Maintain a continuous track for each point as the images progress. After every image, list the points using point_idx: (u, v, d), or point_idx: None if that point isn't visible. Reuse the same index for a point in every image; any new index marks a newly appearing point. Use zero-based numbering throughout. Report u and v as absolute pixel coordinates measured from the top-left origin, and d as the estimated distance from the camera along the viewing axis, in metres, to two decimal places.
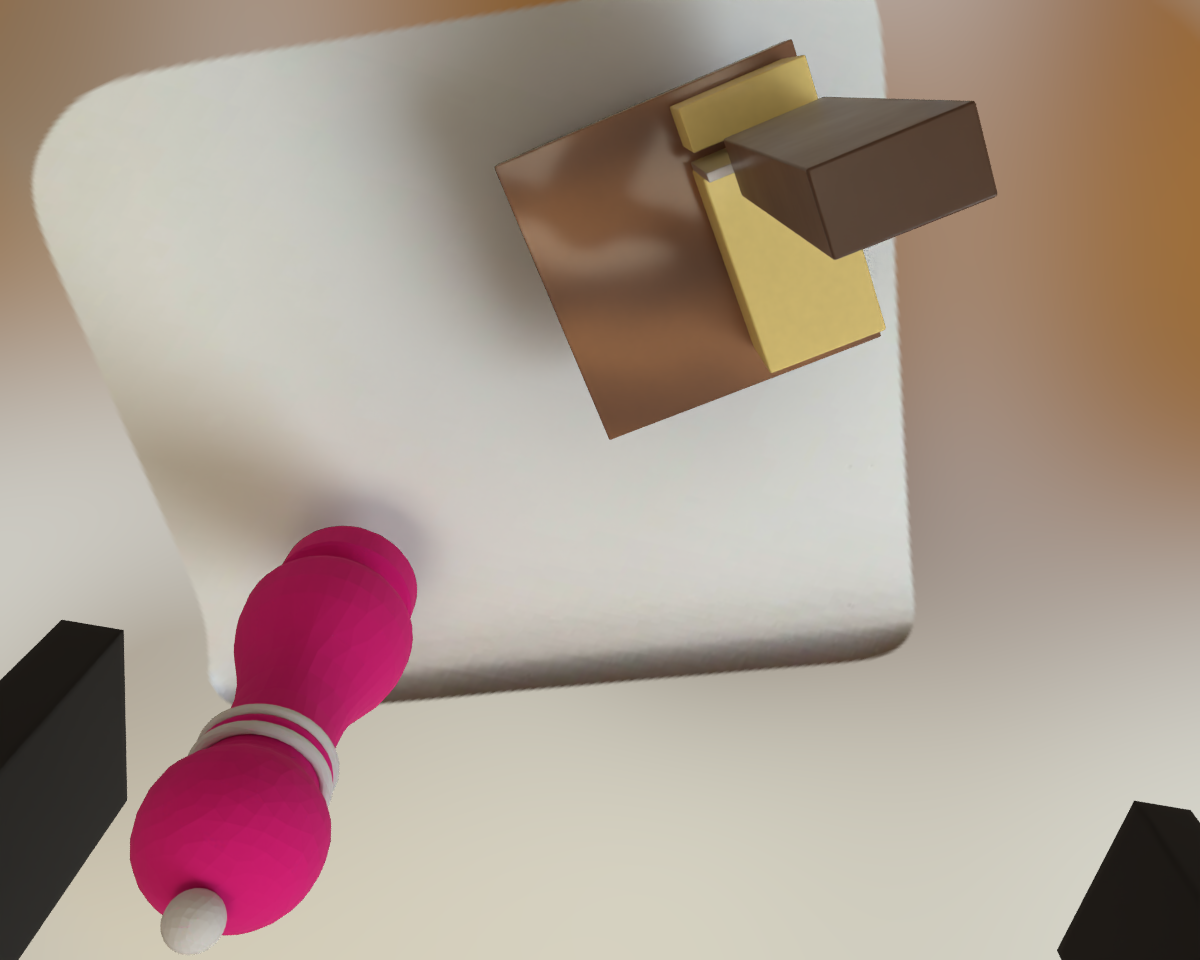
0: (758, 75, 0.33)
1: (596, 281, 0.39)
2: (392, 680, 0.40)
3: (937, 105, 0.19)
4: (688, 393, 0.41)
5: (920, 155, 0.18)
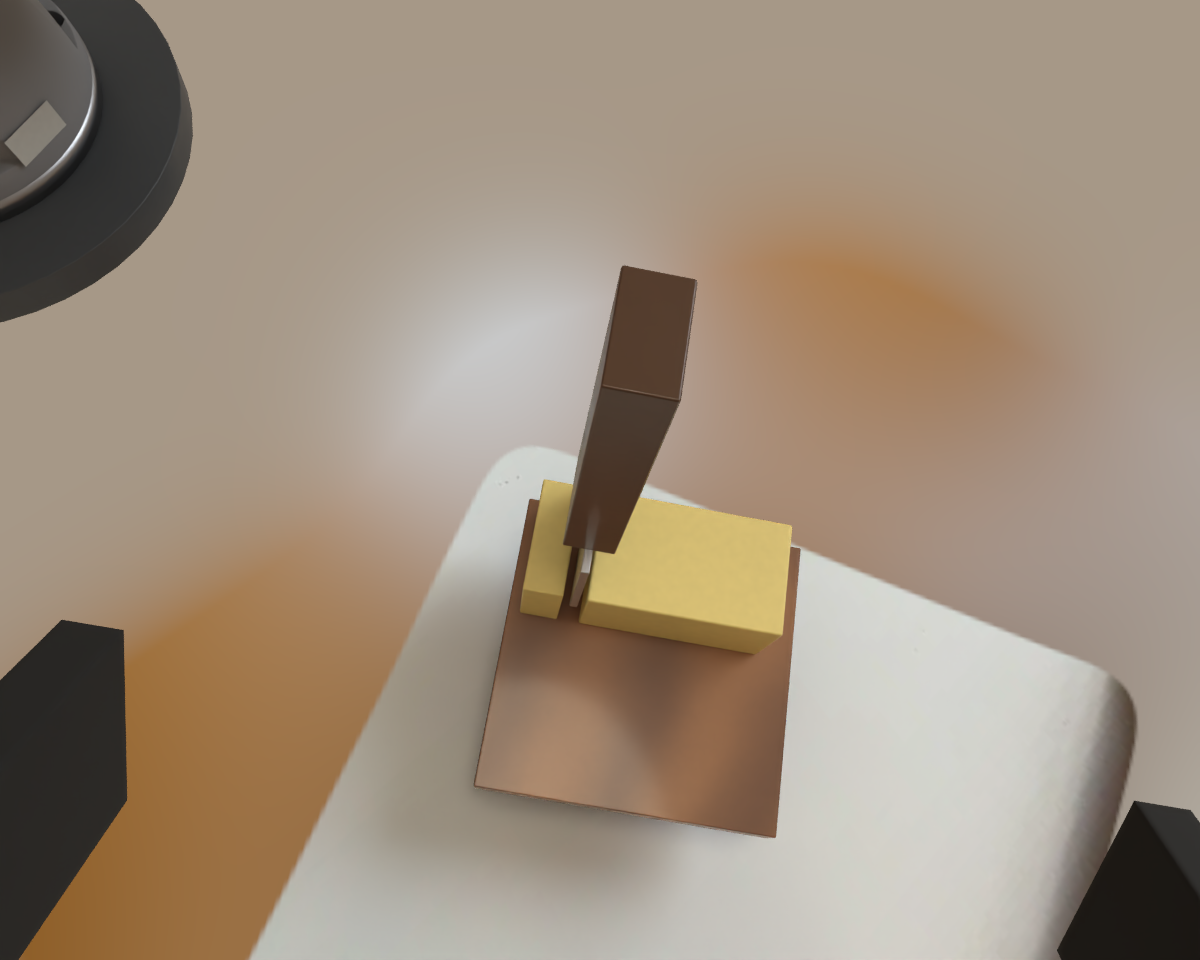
0: (537, 518, 0.37)
1: (621, 756, 0.39)
2: None
3: (613, 302, 0.23)
4: (768, 735, 0.39)
5: (638, 312, 0.22)
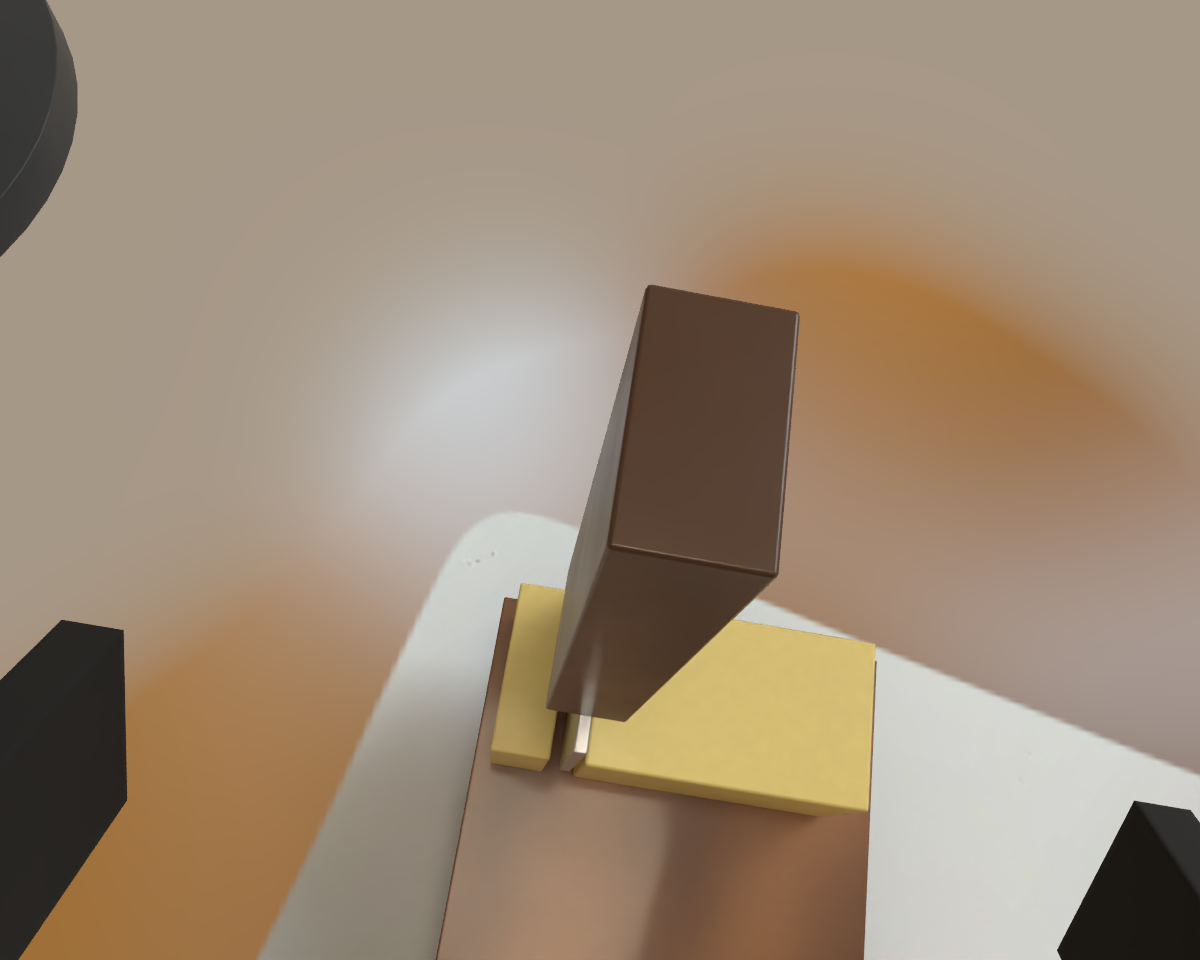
0: (511, 641, 0.26)
1: None
2: None
3: (629, 354, 0.12)
4: (841, 937, 0.28)
5: (682, 381, 0.11)
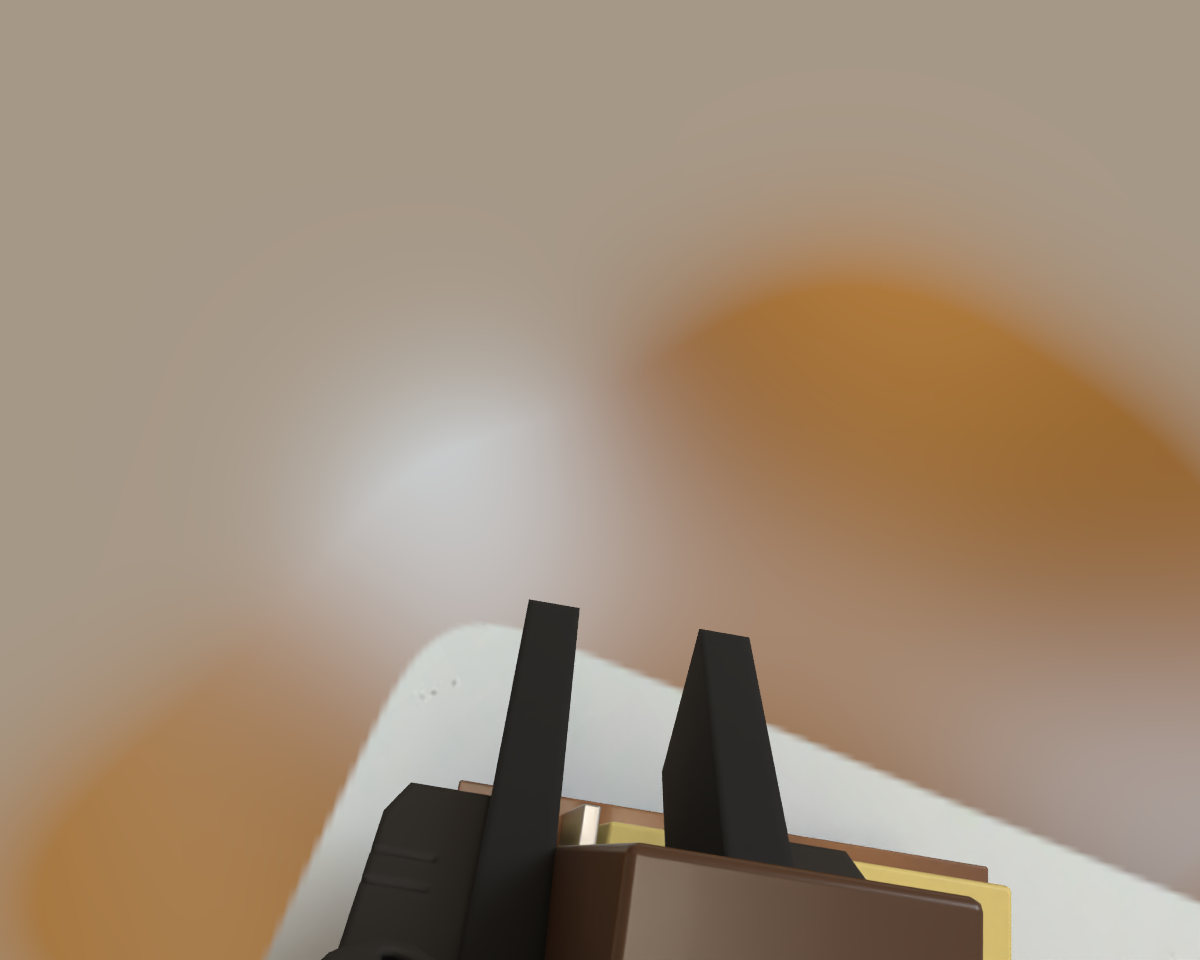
0: None
1: None
2: None
3: (593, 896, 0.06)
4: None
5: None
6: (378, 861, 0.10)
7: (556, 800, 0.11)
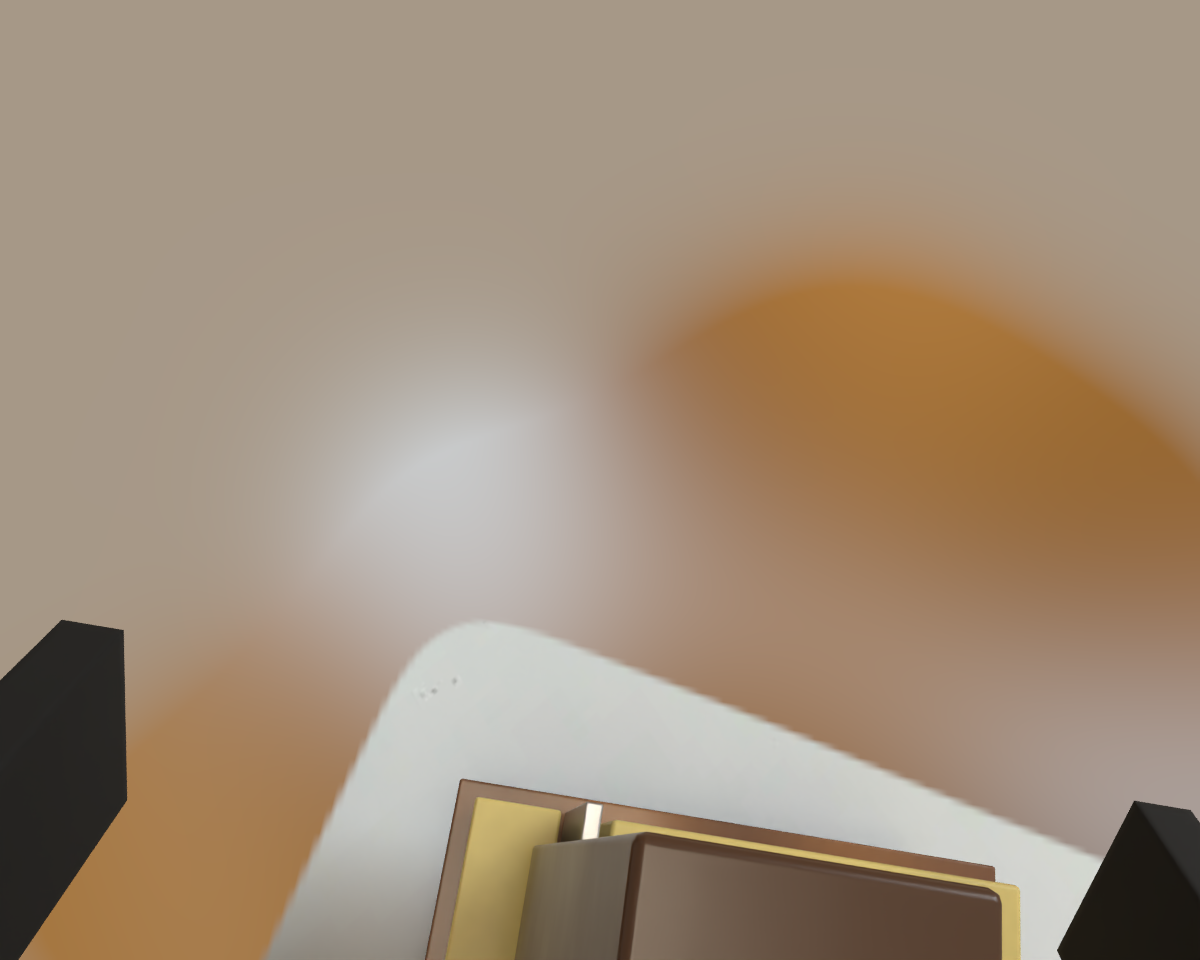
0: (458, 896, 0.17)
1: None
2: None
3: (599, 889, 0.06)
4: None
5: None
6: None
7: None
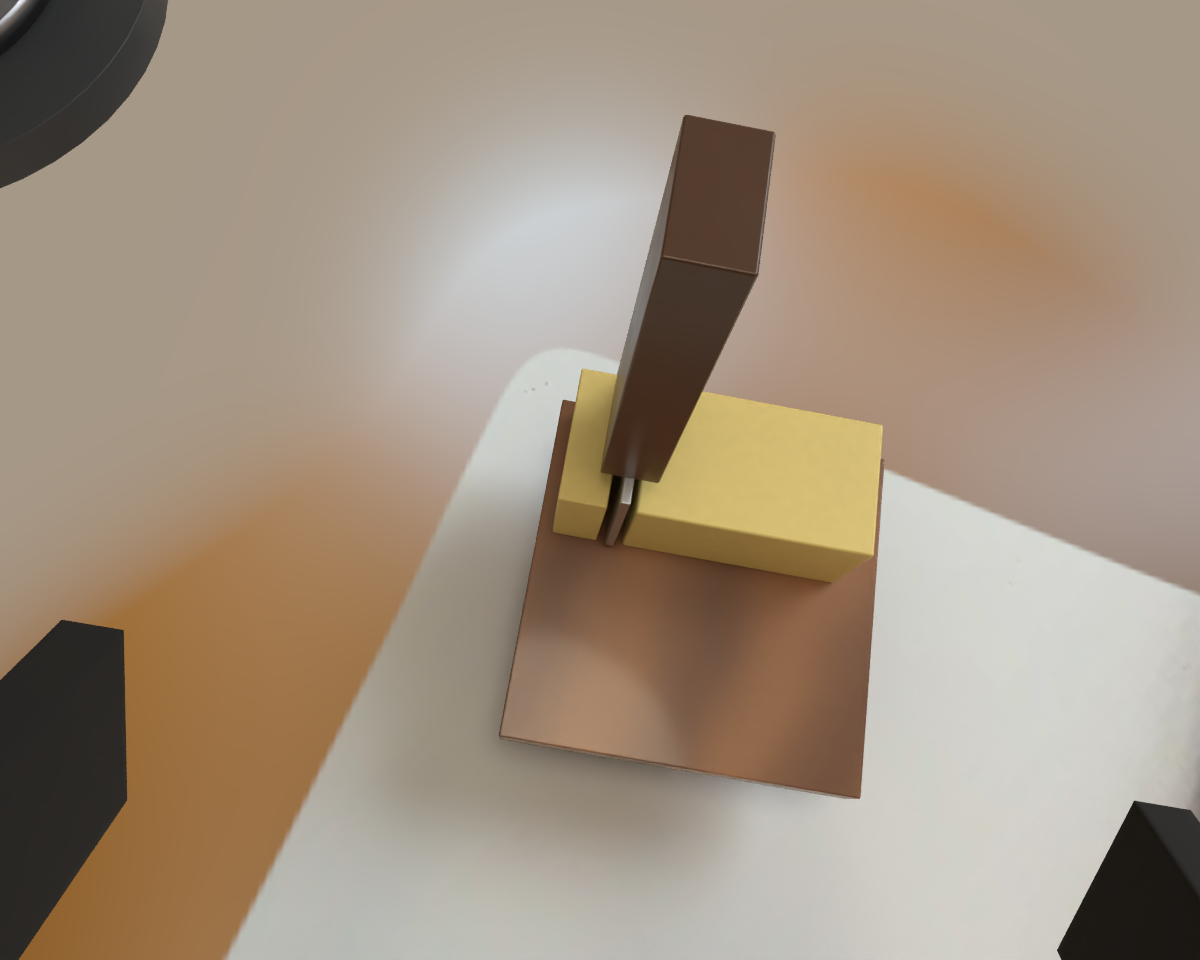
0: (574, 414, 0.31)
1: (675, 702, 0.32)
2: None
3: (672, 165, 0.20)
4: (849, 678, 0.33)
5: (705, 168, 0.18)
6: None
7: None
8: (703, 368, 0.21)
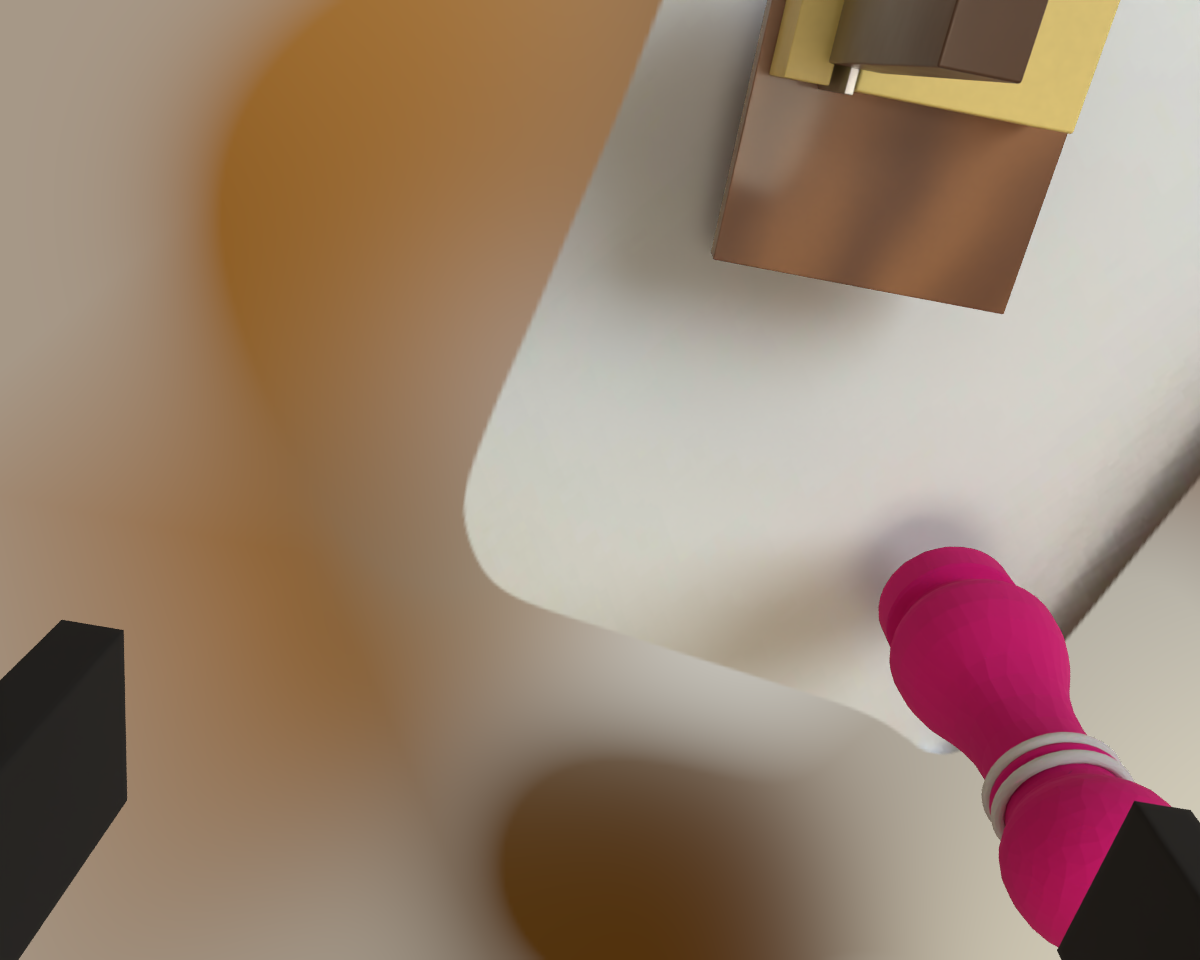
0: None
1: (862, 234, 0.38)
2: (1059, 641, 0.40)
3: None
4: (1020, 215, 0.38)
5: None
6: None
7: None
8: (952, 78, 0.24)
